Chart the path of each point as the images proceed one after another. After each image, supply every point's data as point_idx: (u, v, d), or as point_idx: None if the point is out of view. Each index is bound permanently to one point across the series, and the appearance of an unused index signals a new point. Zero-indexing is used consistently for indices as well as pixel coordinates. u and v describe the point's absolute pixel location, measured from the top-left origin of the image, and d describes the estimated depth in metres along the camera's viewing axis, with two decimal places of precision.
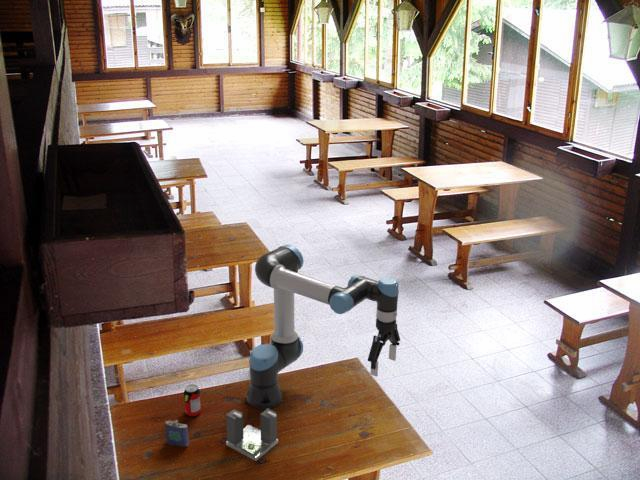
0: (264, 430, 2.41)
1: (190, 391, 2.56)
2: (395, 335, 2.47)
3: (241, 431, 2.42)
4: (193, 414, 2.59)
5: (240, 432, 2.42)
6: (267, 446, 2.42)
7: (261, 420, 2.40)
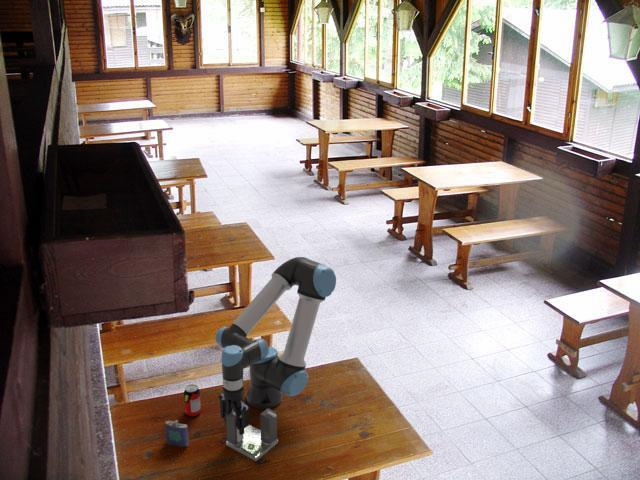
0: (264, 430, 2.41)
1: (190, 391, 2.56)
2: None
3: None
4: (193, 414, 2.59)
5: None
6: (267, 446, 2.42)
7: (261, 420, 2.40)
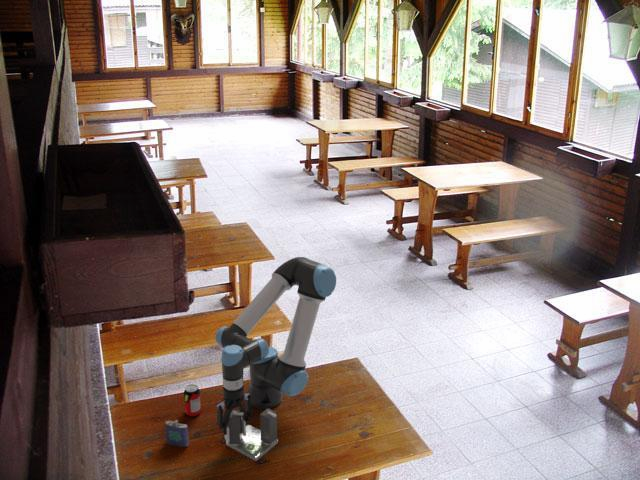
0: (264, 430, 2.41)
1: (190, 391, 2.56)
2: (247, 408, 2.42)
3: (241, 429, 2.44)
4: (193, 414, 2.59)
5: (240, 430, 2.43)
6: (267, 446, 2.42)
7: (261, 420, 2.40)
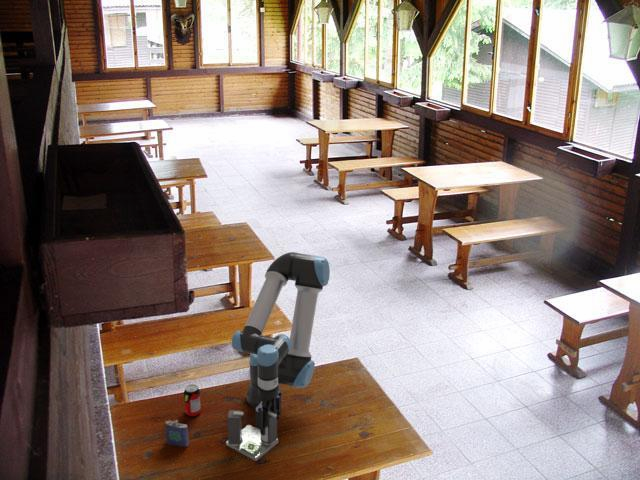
0: None
1: (190, 391, 2.56)
2: (277, 406, 2.44)
3: (241, 429, 2.44)
4: (193, 414, 2.59)
5: (240, 429, 2.43)
6: (267, 446, 2.42)
7: None
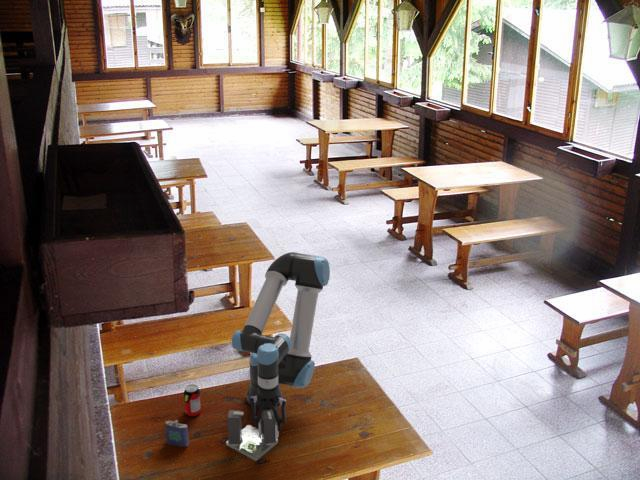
0: (262, 428, 2.42)
1: (190, 391, 2.56)
2: None
3: (241, 429, 2.44)
4: (193, 414, 2.59)
5: (240, 429, 2.43)
6: (267, 446, 2.42)
7: (262, 417, 2.42)
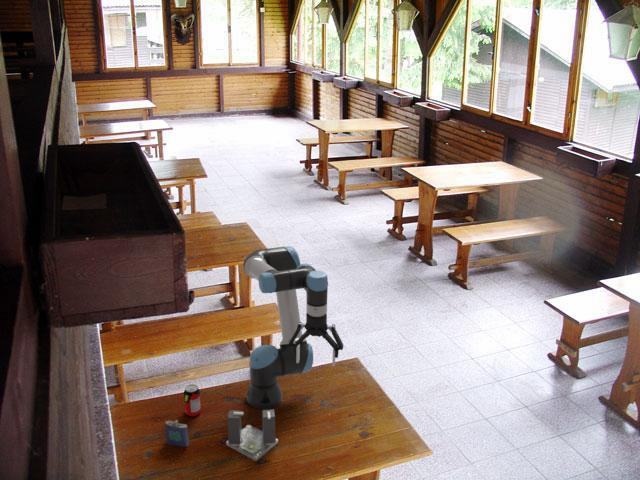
0: None
1: (190, 391, 2.56)
2: None
3: (241, 429, 2.44)
4: (193, 414, 2.59)
5: (240, 429, 2.43)
6: (267, 446, 2.42)
7: (262, 416, 2.42)
